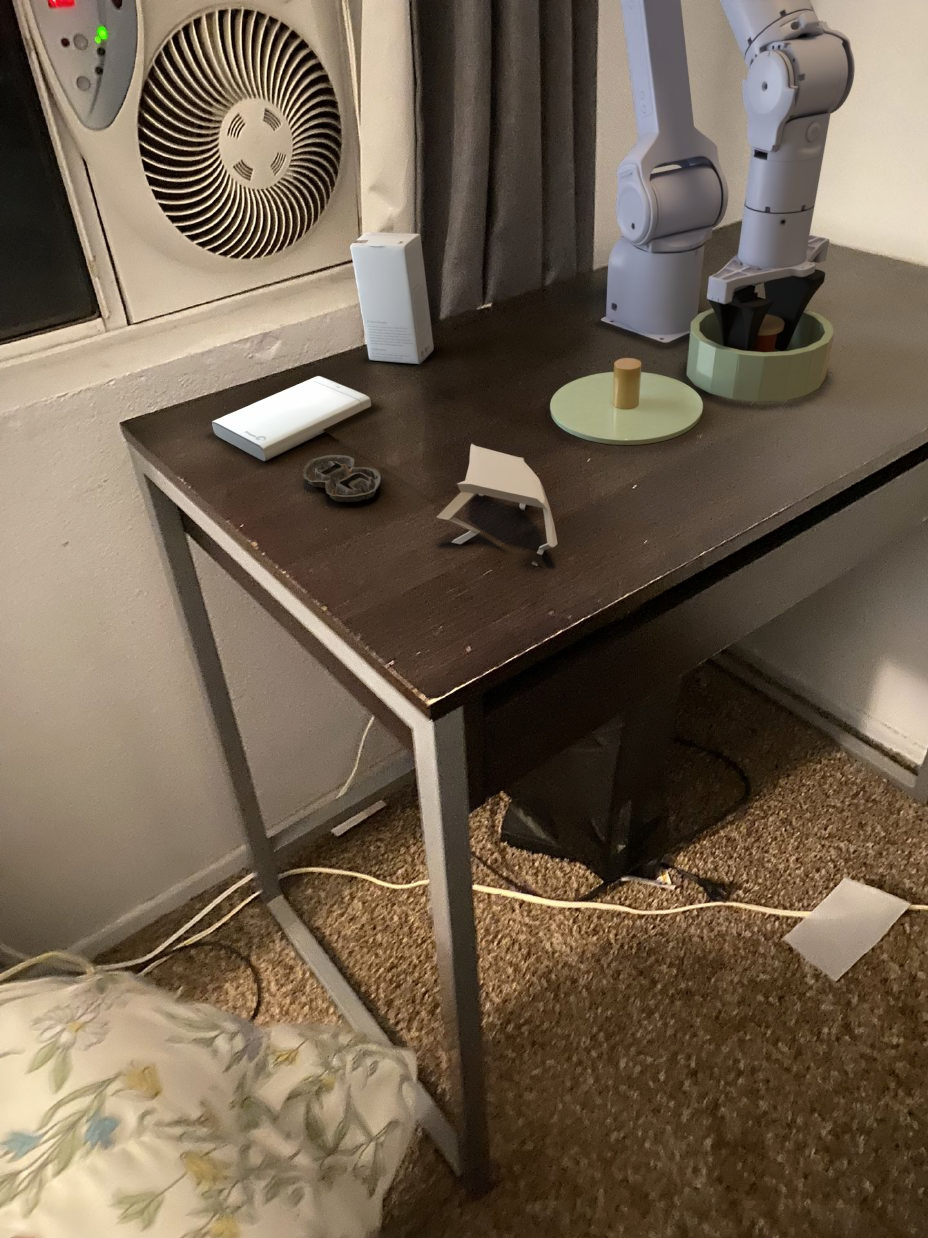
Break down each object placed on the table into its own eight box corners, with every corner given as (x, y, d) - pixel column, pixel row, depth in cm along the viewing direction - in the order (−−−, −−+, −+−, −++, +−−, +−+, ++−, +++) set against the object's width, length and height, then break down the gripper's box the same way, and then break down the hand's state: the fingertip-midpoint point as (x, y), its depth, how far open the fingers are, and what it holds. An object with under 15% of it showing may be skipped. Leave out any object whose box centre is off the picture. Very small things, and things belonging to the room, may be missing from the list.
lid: (519, 415, 83) (518, 365, 80) (621, 369, 90) (624, 320, 86) (629, 468, 75) (632, 414, 72) (733, 413, 81) (740, 361, 78)
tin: (658, 378, 87) (661, 329, 84) (741, 339, 93) (748, 291, 90) (767, 421, 80) (775, 368, 76) (851, 375, 85) (862, 324, 82)
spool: (723, 373, 87) (730, 322, 83) (749, 360, 88) (757, 310, 85) (758, 386, 84) (766, 333, 81) (784, 372, 86) (793, 320, 83)
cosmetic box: (435, 349, 96) (424, 231, 88) (419, 367, 93) (407, 245, 85) (382, 345, 98) (367, 228, 90) (365, 362, 95) (348, 242, 87)
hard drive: (262, 447, 78) (370, 395, 85) (210, 419, 83) (316, 372, 90) (266, 463, 80) (372, 411, 86) (214, 436, 84) (319, 388, 91)
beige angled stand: (412, 531, 70) (405, 475, 67) (486, 486, 74) (483, 432, 71) (529, 592, 63) (528, 533, 60) (603, 539, 67) (606, 481, 64)
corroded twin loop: (336, 457, 79) (334, 447, 78) (396, 488, 74) (395, 477, 74) (290, 480, 77) (288, 470, 76) (349, 514, 72) (347, 503, 71)
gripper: (765, 233, 71) (742, 394, 79) (870, 192, 77) (839, 345, 86) (694, 217, 75) (680, 371, 84) (799, 179, 82) (776, 325, 90)
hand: (756, 356), depth 85 cm, fingers open, 5 cm apart
